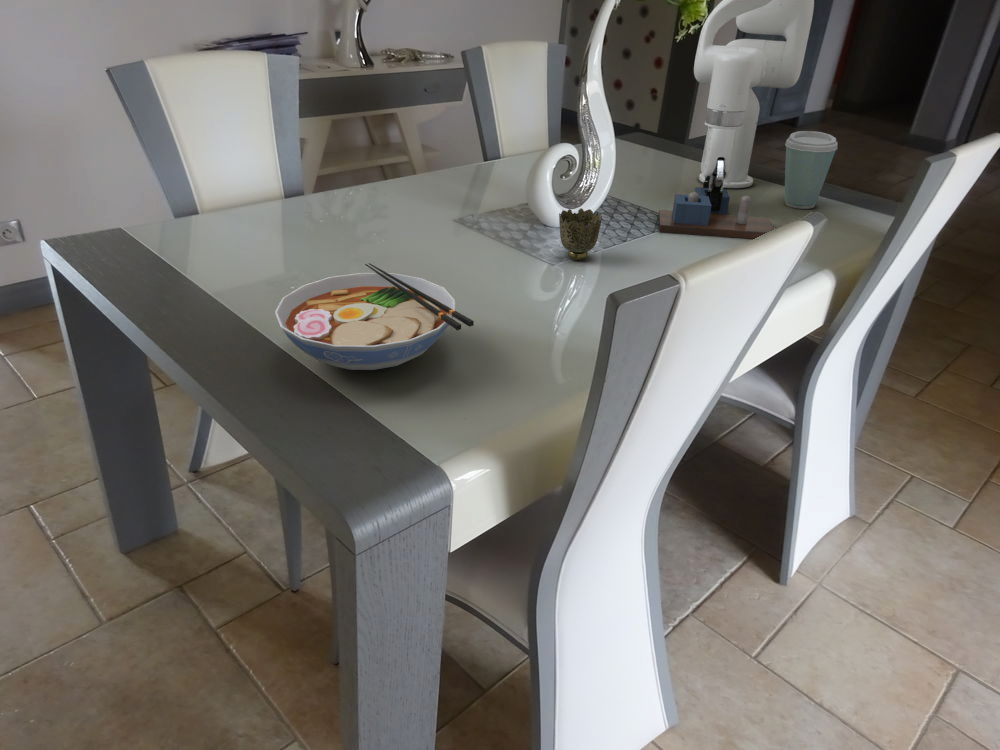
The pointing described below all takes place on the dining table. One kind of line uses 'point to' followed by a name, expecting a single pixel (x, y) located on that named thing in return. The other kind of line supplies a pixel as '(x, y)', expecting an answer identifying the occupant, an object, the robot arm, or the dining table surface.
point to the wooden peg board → (719, 223)
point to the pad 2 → (723, 202)
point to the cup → (579, 232)
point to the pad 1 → (691, 210)
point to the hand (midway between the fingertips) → (710, 204)
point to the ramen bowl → (367, 318)
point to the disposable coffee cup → (807, 167)
